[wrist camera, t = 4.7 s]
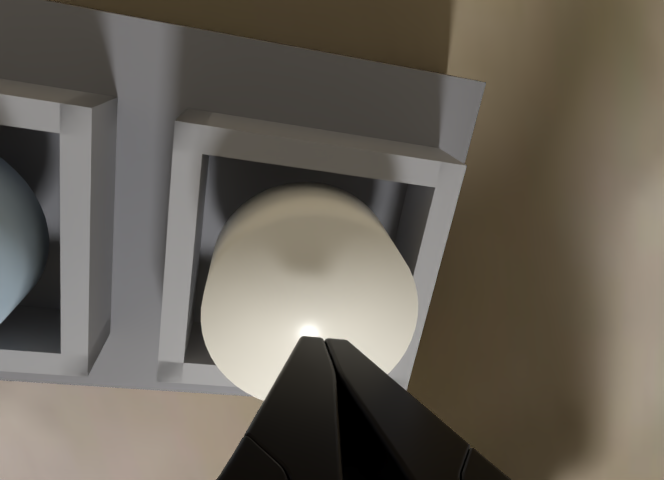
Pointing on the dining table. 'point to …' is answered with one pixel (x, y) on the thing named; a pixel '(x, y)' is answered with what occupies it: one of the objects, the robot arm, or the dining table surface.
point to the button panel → (197, 177)
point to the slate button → (19, 239)
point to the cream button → (304, 284)
